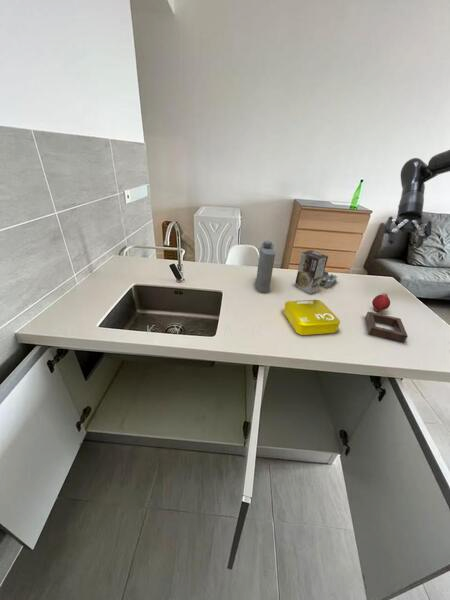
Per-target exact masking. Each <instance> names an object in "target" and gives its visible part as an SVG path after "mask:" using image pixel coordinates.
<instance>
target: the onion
mask: <svg viewBox="0 0 450 600" xmlns="http://www.w3.org/2000/svg"><path fill="white" fill-rule="evenodd" d="M371 304H372V307H373V309H375V310H376V311H377V312H382V311H386V310H388V309H389V308H390V306H391V299H390V297H389V296H388V293H387V292H385V293H381V294H377V295H376V296H375V297H374V298H373V299H372V301H371Z"/></svg>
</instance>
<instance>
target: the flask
mask: <svg viewBox="0 0 450 600" xmlns="http://www.w3.org/2000/svg"><path fill="white" fill-rule="evenodd" d="M275 258H276V252H275V250H274V243H273V242H272V241H271V240H264V241H263V242H262V243H261V244H260V247H259V255H258V264H257V270H256V279H255V287H256V289H257V291H258V292H259V293H262V294H266V293H269V292H270V288H271V283H272V276H273V269H274V263H275Z"/></svg>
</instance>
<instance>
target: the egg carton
mask: <svg viewBox="0 0 450 600" xmlns="http://www.w3.org/2000/svg"><path fill="white" fill-rule="evenodd" d="M338 277H339V276H338V275H336V274H333V273H331V274H329V271H326V269H325V270H324V273H323V277H322V281H321V284H320V286H323V287H324V288H332V287H331V286H333V284H334V283H336V280H337V279H338Z"/></svg>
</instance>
